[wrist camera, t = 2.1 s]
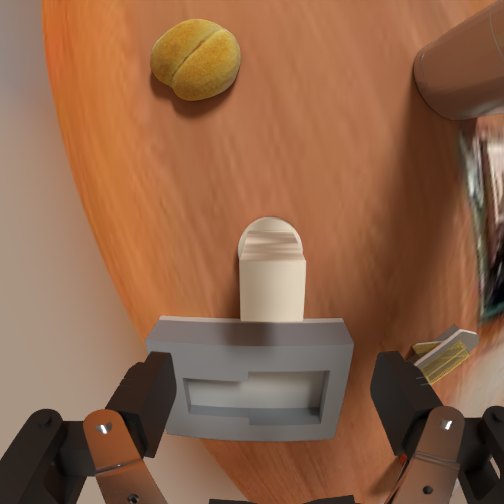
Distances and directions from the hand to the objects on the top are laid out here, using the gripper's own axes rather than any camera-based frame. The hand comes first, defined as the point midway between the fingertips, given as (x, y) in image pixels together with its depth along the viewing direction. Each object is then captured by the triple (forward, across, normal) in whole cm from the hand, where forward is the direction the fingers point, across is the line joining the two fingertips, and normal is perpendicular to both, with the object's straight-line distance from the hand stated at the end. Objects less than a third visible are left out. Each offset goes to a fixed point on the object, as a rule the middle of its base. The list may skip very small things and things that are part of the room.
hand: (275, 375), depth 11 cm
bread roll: (+21, +7, -19) cm, 29 cm away
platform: (+21, -21, +12) cm, 32 cm away
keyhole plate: (+20, +2, +15) cm, 25 cm away
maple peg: (+20, 0, 0) cm, 20 cm away
